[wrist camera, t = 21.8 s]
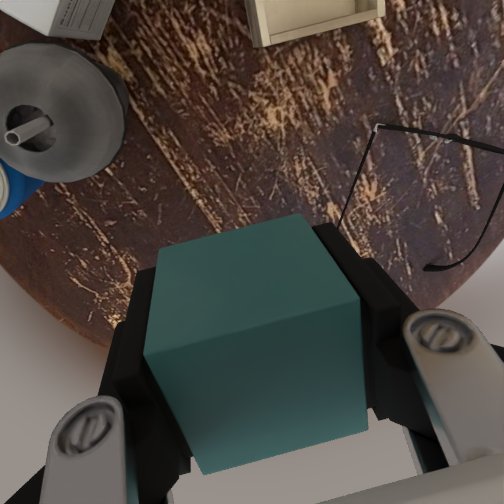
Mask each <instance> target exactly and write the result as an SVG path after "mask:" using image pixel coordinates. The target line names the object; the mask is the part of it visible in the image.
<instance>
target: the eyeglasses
mask: <svg viewBox="0 0 504 504" xmlns="http://www.w3.org/2000/svg"><path fill="white" fill-rule="evenodd" d="M377 128H380V129H388V130H397V131H405V132H412V133H419V134H425V135H430V136H429V138H430V139H434V140H437V138H436V136H437V137H442V138H447V139H446V140H445V143H449V142H450V141H456V142H459V143H463V144H466V145H470V146H473V147H477V148H480V149H483V150H487V151H491V152H495V153H500V154H504V149H502V148H498V147H495V146H491V145H488V144H484V143H481V142H476V141H472V140H468V139H463V138H461V137H460V136H458V135H457V134H440V133H435V132H430V131H423V130H417V129H412V128H406V127H400V126H394V125H387V124H378V123H377V124H376V126H375V128H374V130H373V132H372V135H371V137H370V140H369V143H368V145H367V148H366V151H365V153H364V156H363V159H362V161H361V164H360V167H359V169H358V172H357V175H356V177H355V180H354V183H353V185H352V188H351V191H350V193H349V196H348V199H347V201H346V204H345V207H344V210H343V212H342V215H341V218H340V220H339V223H338V226H337V229H339V226H340V224H341V221H342V218H343V215H344V213H345V210H346V207H347V205H348V202H349V199H350V197H351V194H352V192H353V189H354V187H355V184H356V182H357V179H358V177H359V174H360V171H361V169H362V166H363V164H364V161H365V159H366V156H367V154H368V151H369V149H370V146H371V144H372V141H373V139H374V136H375V133H377ZM434 137H435V138H436V139H435V138H434ZM449 140H450V141H449ZM503 192H504V184H503V186H502V188H501V191H500V193H499V195H498V198H497V200H496V203H495V205H494V207H493V210H492V212H491V214H490V217H489V219H488V221H487V223H486V226H485V228H484V230H483V232H482V234H481V236H480V238H479V240H478V242H477V244H476V245H475V247H474V248H473V249H472V251H471V252H470V253H469V254H468V255H467V256H466V257H464V258H463V259H462V260H460V261H458V262H457V263H454V264H452V265H448V266H437V265H428V266H426V267H425V268H424V270H423V271H432V272H434V271H444V270H447V269H450V268H452V267H455V266H456V265H458V264H460V263H462V262H463V261H465V260H466V259H467V258H468V257H469V256H470V255H471V254H472V253H473V251H474V250H475V249H476V247H477V246H478V244H479V243H480V241H481V239H482V237H483V235H484V233H485V231H486V229H487V227H488V225H489V223H490V220H491V218H492V216H493V214H494V212H495V210H496V207H497V205H498V203H499V201H500V199H501V196H502V194H503Z"/></svg>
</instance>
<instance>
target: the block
mask: <svg viewBox="0 0 504 504" xmlns="http://www.w3.org/2000/svg"><path fill="white" fill-rule="evenodd" d="M143 355H144V357H145V359H146V361H147V363H148V365H149V367H150V369H151V371H152V373H153V375H154V377H155V379H156V381H157V383H158V385H159V387H160V389H161V391H162V393H163V395H164V397H165V399H166V401H167V403H168V405H169V407H170V409H171V411H172V413H173V415H174V417H175V419H176V421H177V423H178V425H179V427H180V429H181V431H182V433H183V435H184V437H185V439H186V441H187V443H188V445H189V448H190V450H191V452H192V454H193V456H194V458H195V460H196V462H197V464H198V466H199V468H200V470H201V472H202V474H203V475H207V474H211V473H215V472H218V471H222V470H226V469H229V468H233V467H236V466H240V465H244V464H247V463H251V462H255V461H258V460H262V459H265V458H269V457H273V456H276V455H280V454H284V453H287V452H291V451H295V450H298V449H302V448H305V447H309V446H313V445H316V444H320V443H324V442H327V441H331V440H335V439H338V438H342V437H346V436H349V435H353V434H357V433H360V432H364V431H366V430H368V414H367V401H366V386H365V371H364V356H363V341H362V325H361V309H360V297H359V296H358V295H357V293H356V292H355V290H354V289H353V287H352V286H351V284H350V283H349V282H348V280H347V279H346V277H345V276H344V274H343V273H342V271H341V270H340V269H339V267H338V266H337V264H336V263H335V261H334V260H333V258H332V257H331V256H330V254H329V253H328V251H327V250H326V248H325V247H324V246H323V244H322V243H321V241H320V240H319V238H318V237H317V235H316V234H315V233H314V231H313V230H312V228H311V227H310V225H309V224H308V222H307V221H306V220H305V218H304V217H303V215H302V214H301V213H297V214H293V215H289V216H285V217H282V218H278V219H274V220H270V221H266V222H262V223H258V224H254V225H250V226H246V227H242V228H238V229H234V230H230V231H226V232H222V233H218V234H214V235H211V236H207V237H203V238H199V239H195V240H191V241H187V242H183V243H179V244H175V245H171V246H167V247H163V248H160V249H159V252H158V259H157V265H156V272H155V279H154V285H153V292H152V299H151V305H150V312H149V319H148V325H147V332H146V339H145V345H144V352H143Z"/></svg>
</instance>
